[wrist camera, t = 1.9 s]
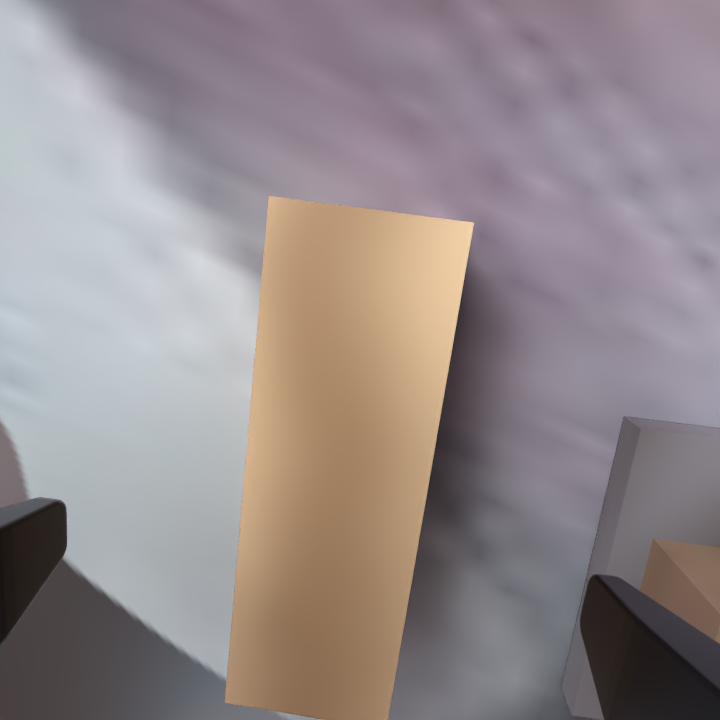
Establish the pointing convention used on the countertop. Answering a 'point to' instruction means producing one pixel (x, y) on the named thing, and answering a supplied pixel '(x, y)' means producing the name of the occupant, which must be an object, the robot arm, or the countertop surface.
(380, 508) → the oak bar
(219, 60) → the countertop surface
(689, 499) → the balance stand
